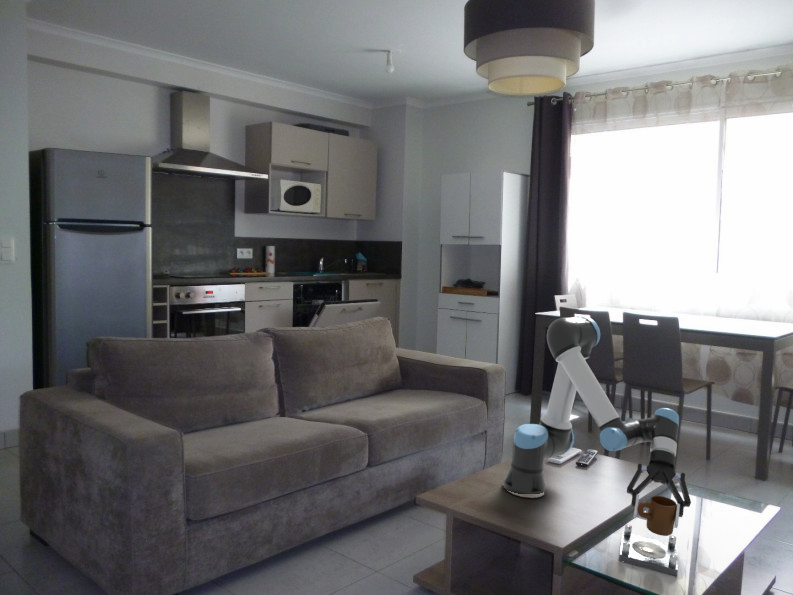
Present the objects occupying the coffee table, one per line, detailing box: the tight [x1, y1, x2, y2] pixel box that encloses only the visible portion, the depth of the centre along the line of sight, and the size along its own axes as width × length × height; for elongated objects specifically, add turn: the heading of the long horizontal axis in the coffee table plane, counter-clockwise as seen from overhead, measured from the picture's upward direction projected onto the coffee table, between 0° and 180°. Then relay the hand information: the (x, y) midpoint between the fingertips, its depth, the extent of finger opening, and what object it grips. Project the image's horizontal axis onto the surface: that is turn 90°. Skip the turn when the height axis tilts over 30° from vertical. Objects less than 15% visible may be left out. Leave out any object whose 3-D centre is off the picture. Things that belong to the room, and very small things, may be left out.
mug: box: [637, 495, 677, 537], centre depth 197 cm, size 12×8×9 cm, turn 101°
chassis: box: [618, 523, 679, 577], centre depth 199 cm, size 16×16×5 cm
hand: (655, 521), depth 194 cm, fingers closed on mug, 11 cm apart
